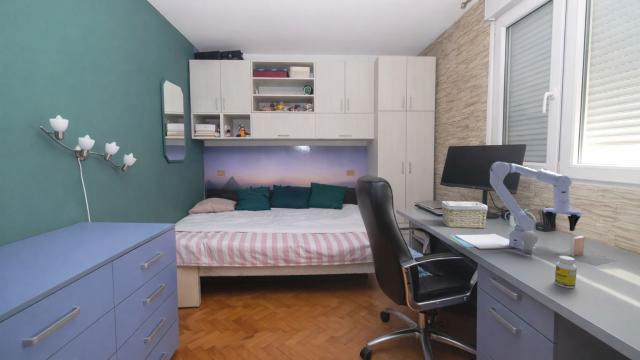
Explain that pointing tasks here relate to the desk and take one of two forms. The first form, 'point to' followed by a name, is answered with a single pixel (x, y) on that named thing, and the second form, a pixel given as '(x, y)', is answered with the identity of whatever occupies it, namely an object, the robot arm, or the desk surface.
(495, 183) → the robot arm
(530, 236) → the lightbulb
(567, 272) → the supplement bottle
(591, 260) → the mat
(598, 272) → the desk surface
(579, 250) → the tile
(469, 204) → the storage basket
